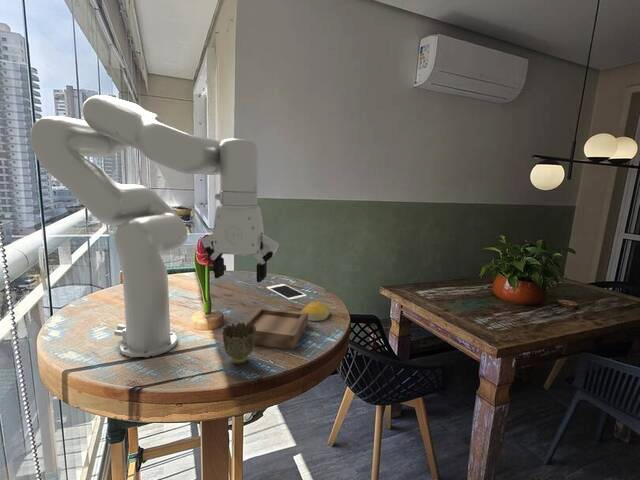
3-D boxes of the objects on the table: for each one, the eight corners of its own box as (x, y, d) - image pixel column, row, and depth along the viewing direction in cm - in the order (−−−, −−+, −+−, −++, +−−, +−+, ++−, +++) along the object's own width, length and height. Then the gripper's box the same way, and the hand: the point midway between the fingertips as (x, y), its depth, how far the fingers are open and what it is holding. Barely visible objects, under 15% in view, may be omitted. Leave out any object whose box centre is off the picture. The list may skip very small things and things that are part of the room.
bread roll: (297, 319, 104) (297, 306, 103) (309, 309, 112) (309, 297, 111) (322, 324, 101) (323, 311, 100) (332, 313, 109) (333, 301, 108)
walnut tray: (237, 343, 88) (237, 328, 87) (258, 320, 102) (258, 307, 101) (293, 351, 85) (294, 335, 84) (307, 326, 99) (308, 312, 99)
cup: (226, 353, 82) (226, 321, 80) (257, 353, 82) (257, 321, 81) (219, 370, 75) (218, 336, 73) (253, 370, 75) (253, 336, 74)
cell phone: (283, 285, 136) (283, 283, 136) (307, 296, 124) (307, 295, 124) (266, 288, 131) (266, 287, 131) (289, 301, 119) (289, 299, 119)
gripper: (191, 199, 70) (194, 280, 73) (272, 203, 67) (271, 287, 70) (210, 197, 77) (212, 271, 80) (284, 201, 74) (282, 277, 77)
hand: (239, 278), depth 75 cm, fingers open, 9 cm apart
